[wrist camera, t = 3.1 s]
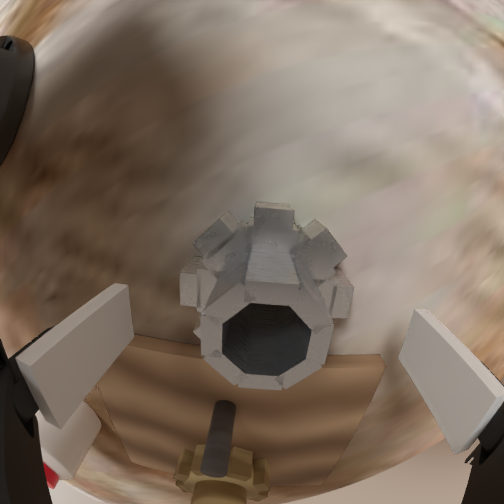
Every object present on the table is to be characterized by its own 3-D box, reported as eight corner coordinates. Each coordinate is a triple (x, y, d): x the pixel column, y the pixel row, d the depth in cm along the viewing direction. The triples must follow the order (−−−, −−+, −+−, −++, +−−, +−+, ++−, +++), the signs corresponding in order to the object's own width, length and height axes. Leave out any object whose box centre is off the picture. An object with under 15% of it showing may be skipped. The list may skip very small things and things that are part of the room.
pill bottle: (112, 436, 23) (77, 504, 12) (68, 423, 23) (31, 478, 13) (82, 390, 21) (30, 462, 10) (39, 378, 21) (-10, 434, 11)
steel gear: (196, 197, 15) (144, 212, 9) (348, 211, 15) (404, 235, 8) (194, 331, 18) (162, 404, 11) (324, 342, 17) (347, 417, 11)
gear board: (92, 324, 18) (24, 393, 9) (379, 354, 17) (427, 446, 9) (135, 453, 23) (111, 509, 14) (321, 475, 22) (328, 536, 14)
